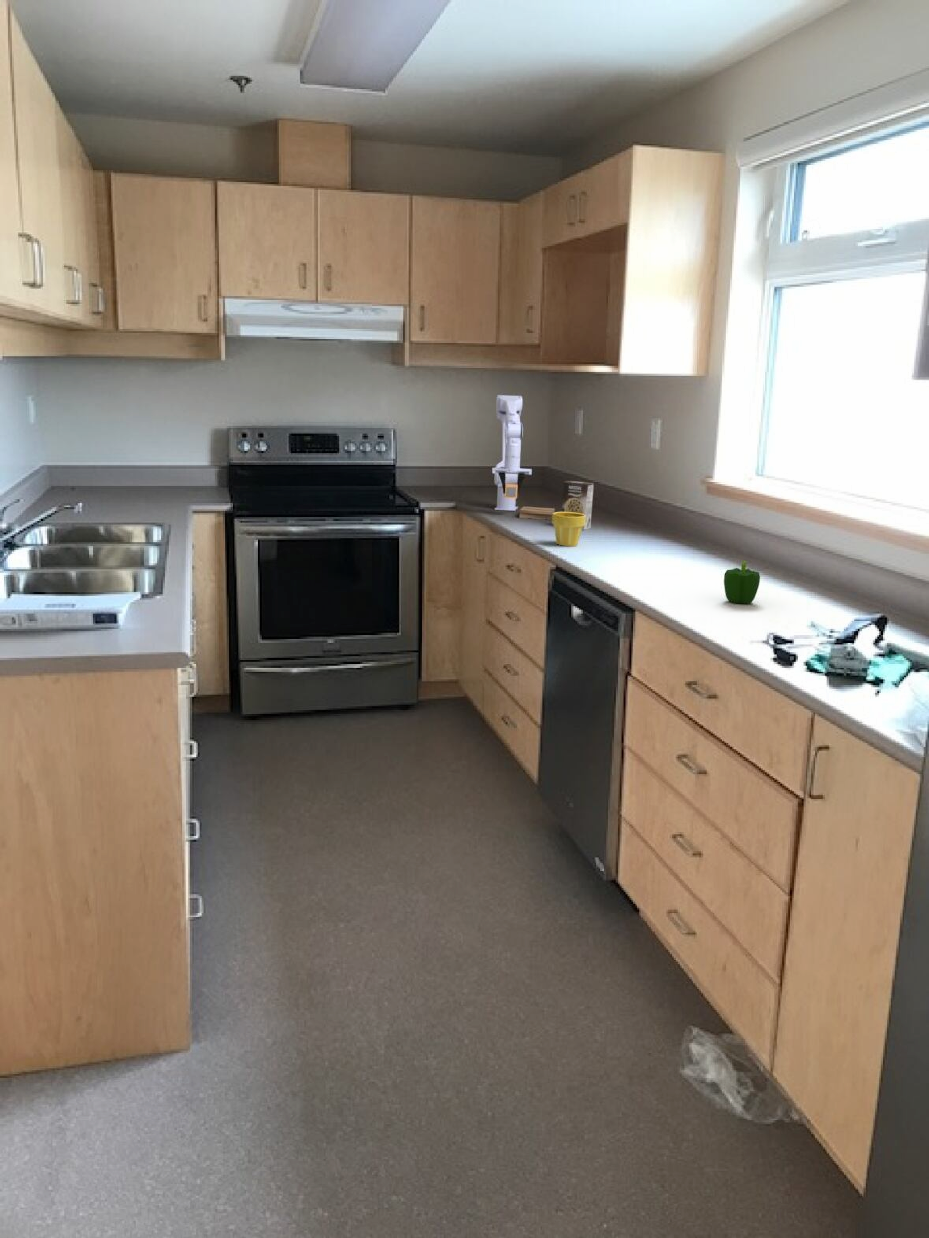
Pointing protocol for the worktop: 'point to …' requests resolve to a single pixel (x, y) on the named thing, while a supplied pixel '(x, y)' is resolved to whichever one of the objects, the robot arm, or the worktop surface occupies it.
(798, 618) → the worktop surface
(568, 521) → the plant pot
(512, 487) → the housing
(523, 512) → the stand
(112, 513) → the worktop surface
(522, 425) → the robot arm
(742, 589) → the bell pepper
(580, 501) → the brown cookie box
